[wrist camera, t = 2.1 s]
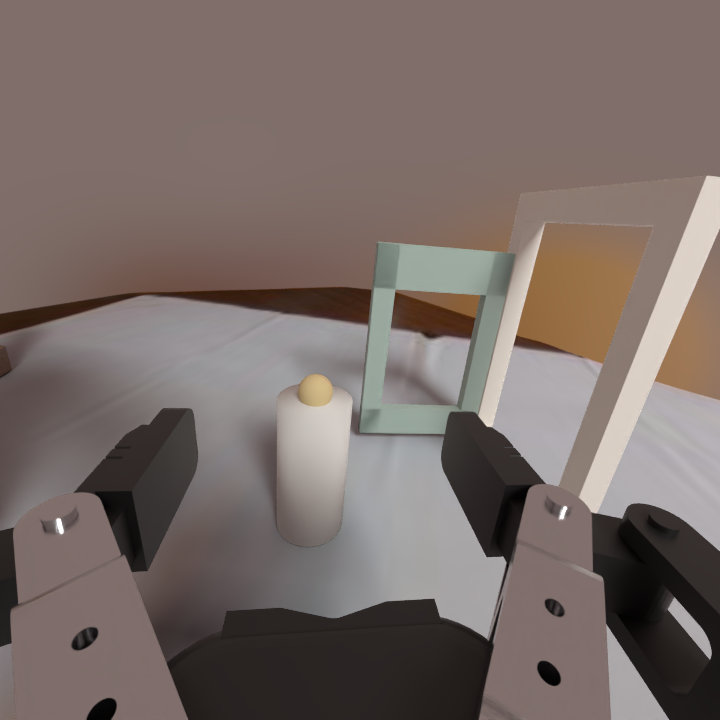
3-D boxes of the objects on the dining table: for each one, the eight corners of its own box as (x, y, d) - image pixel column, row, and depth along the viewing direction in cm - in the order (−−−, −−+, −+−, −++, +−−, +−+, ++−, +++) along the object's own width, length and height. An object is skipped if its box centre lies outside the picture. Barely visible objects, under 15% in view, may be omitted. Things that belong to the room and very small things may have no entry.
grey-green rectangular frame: (463, 421, 43) (502, 251, 36) (472, 434, 41) (515, 254, 33) (356, 419, 42) (374, 240, 34) (359, 432, 39) (378, 242, 32)
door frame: (543, 555, 28) (689, 173, 18) (459, 427, 44) (511, 192, 34) (590, 553, 28) (757, 182, 18) (489, 427, 45) (549, 196, 35)
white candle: (273, 548, 26) (272, 392, 22) (280, 496, 31) (280, 359, 26) (343, 546, 27) (358, 394, 22) (339, 495, 32) (351, 362, 27)
